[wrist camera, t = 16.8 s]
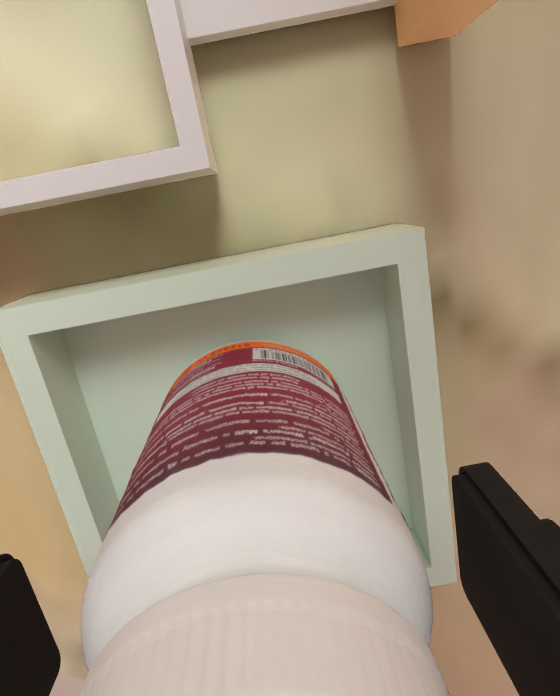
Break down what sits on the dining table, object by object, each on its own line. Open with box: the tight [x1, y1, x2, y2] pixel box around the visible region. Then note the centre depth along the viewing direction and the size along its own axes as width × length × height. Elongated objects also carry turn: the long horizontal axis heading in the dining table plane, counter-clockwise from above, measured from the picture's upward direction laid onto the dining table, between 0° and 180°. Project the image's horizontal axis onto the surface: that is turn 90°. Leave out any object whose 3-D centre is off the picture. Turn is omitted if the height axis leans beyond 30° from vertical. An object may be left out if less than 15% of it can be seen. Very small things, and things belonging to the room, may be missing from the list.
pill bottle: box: [79, 339, 449, 696], centre depth 11 cm, size 6×6×11 cm
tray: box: [0, 223, 458, 587], centre depth 15 cm, size 12×12×3 cm
